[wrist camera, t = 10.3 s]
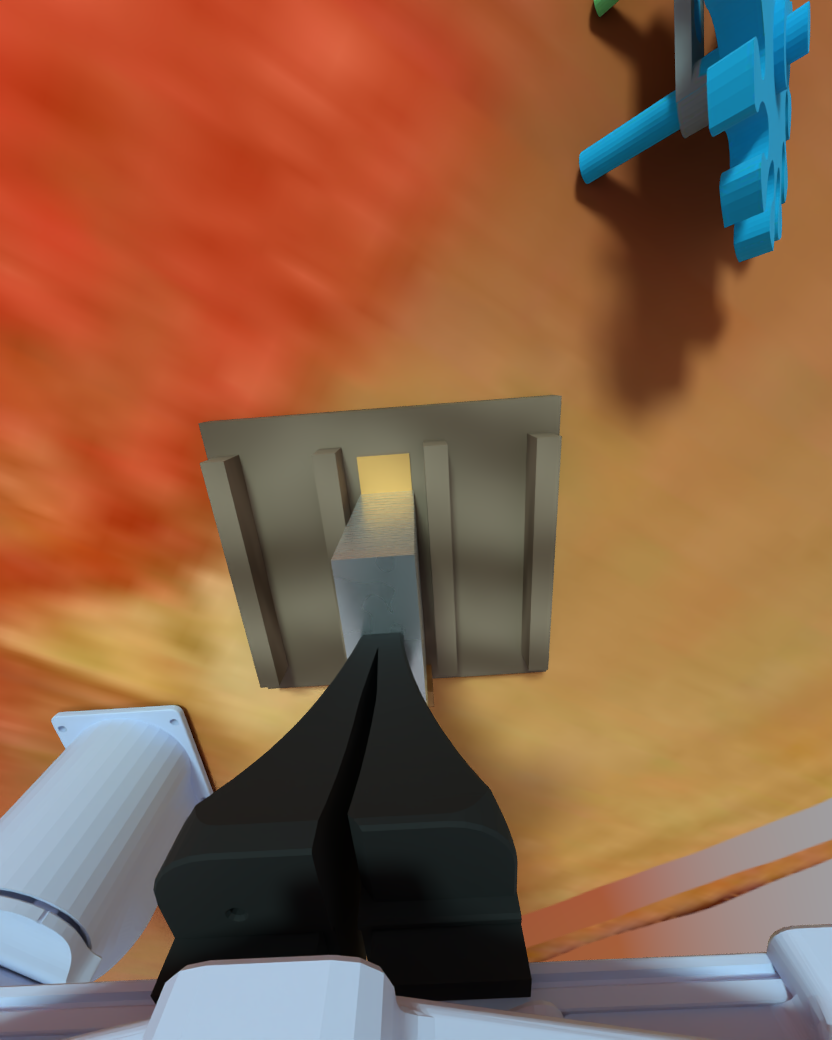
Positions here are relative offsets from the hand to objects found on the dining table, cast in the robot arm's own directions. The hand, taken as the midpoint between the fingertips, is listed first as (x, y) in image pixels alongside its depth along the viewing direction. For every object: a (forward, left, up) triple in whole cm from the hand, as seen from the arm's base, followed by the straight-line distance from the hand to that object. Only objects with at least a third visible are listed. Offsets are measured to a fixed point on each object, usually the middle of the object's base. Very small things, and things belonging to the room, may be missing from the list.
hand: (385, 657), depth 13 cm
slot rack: (0, 0, -8) cm, 8 cm away
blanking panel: (0, 0, -7) cm, 7 cm away
